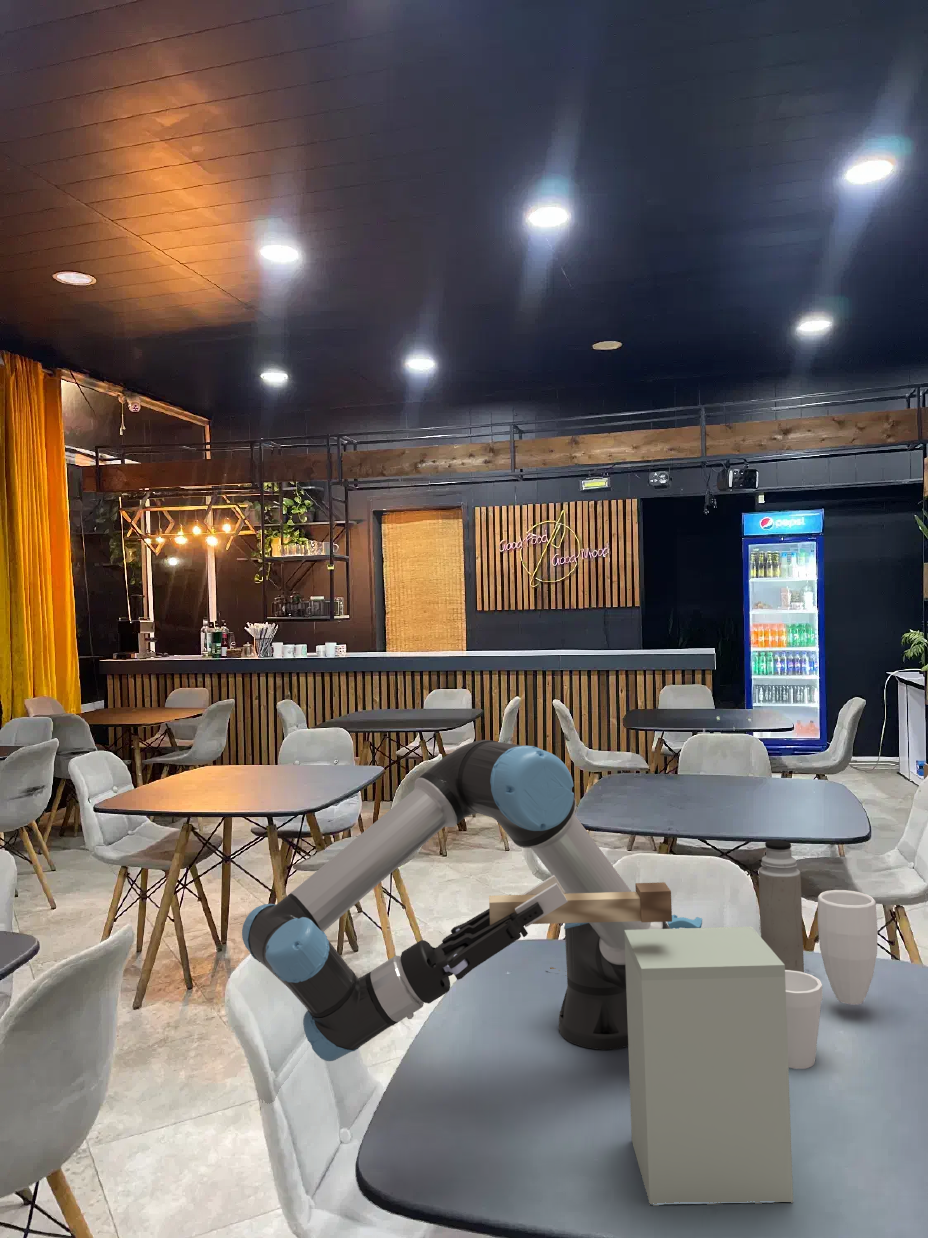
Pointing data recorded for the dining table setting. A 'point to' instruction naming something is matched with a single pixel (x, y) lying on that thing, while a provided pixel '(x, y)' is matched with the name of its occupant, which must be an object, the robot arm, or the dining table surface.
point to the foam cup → (802, 1017)
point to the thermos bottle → (781, 904)
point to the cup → (848, 942)
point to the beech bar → (597, 906)
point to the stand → (708, 1065)
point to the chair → (684, 922)
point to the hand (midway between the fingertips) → (560, 888)
